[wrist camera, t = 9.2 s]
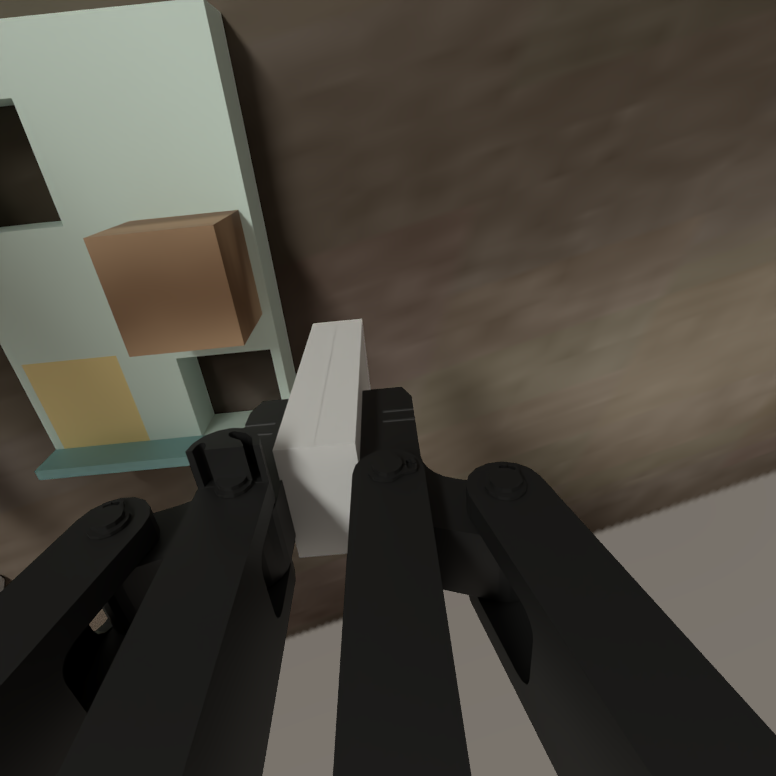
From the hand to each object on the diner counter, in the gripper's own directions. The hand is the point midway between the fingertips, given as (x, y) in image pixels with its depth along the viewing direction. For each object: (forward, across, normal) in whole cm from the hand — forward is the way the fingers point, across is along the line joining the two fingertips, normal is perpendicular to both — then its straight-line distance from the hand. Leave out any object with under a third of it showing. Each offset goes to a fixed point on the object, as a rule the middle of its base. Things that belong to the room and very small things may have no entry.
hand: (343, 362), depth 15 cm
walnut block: (+9, -7, +1) cm, 12 cm away
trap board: (+12, -11, +1) cm, 17 cm away
